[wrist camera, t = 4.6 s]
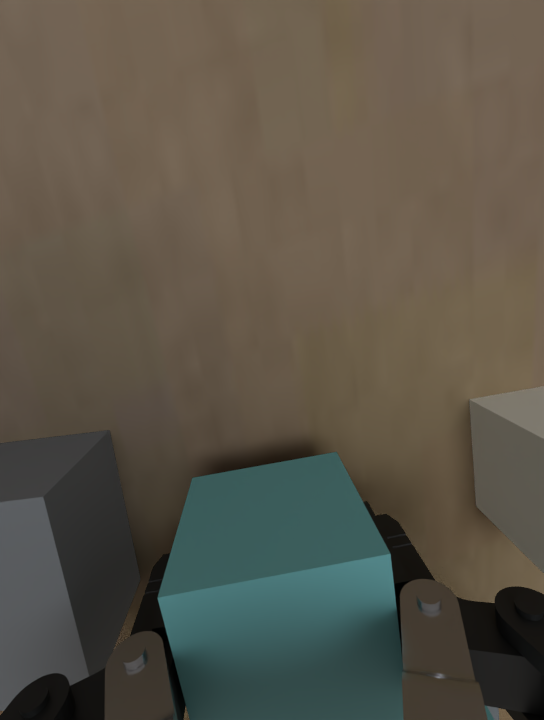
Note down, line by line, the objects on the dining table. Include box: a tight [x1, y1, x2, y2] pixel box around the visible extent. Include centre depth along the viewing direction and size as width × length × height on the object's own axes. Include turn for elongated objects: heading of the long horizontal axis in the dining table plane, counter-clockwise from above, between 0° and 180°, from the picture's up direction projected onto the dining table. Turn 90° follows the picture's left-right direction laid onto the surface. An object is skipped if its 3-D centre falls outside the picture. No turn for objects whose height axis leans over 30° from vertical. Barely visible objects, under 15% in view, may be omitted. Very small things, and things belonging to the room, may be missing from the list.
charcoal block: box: [0, 430, 140, 711], centre depth 13 cm, size 7×7×5 cm
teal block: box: [158, 452, 403, 720], centre depth 11 cm, size 5×5×5 cm
